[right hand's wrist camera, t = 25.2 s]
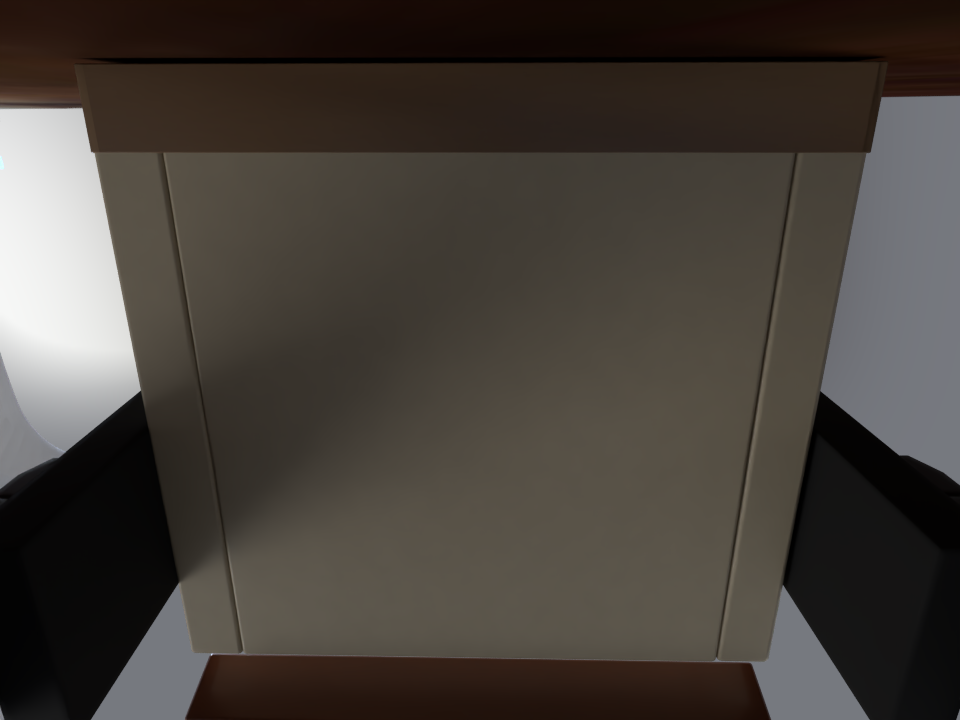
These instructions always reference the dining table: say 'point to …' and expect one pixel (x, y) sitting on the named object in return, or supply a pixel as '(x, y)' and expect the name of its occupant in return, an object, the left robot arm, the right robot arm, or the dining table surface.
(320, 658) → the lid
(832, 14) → the dining table surface
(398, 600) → the chest
